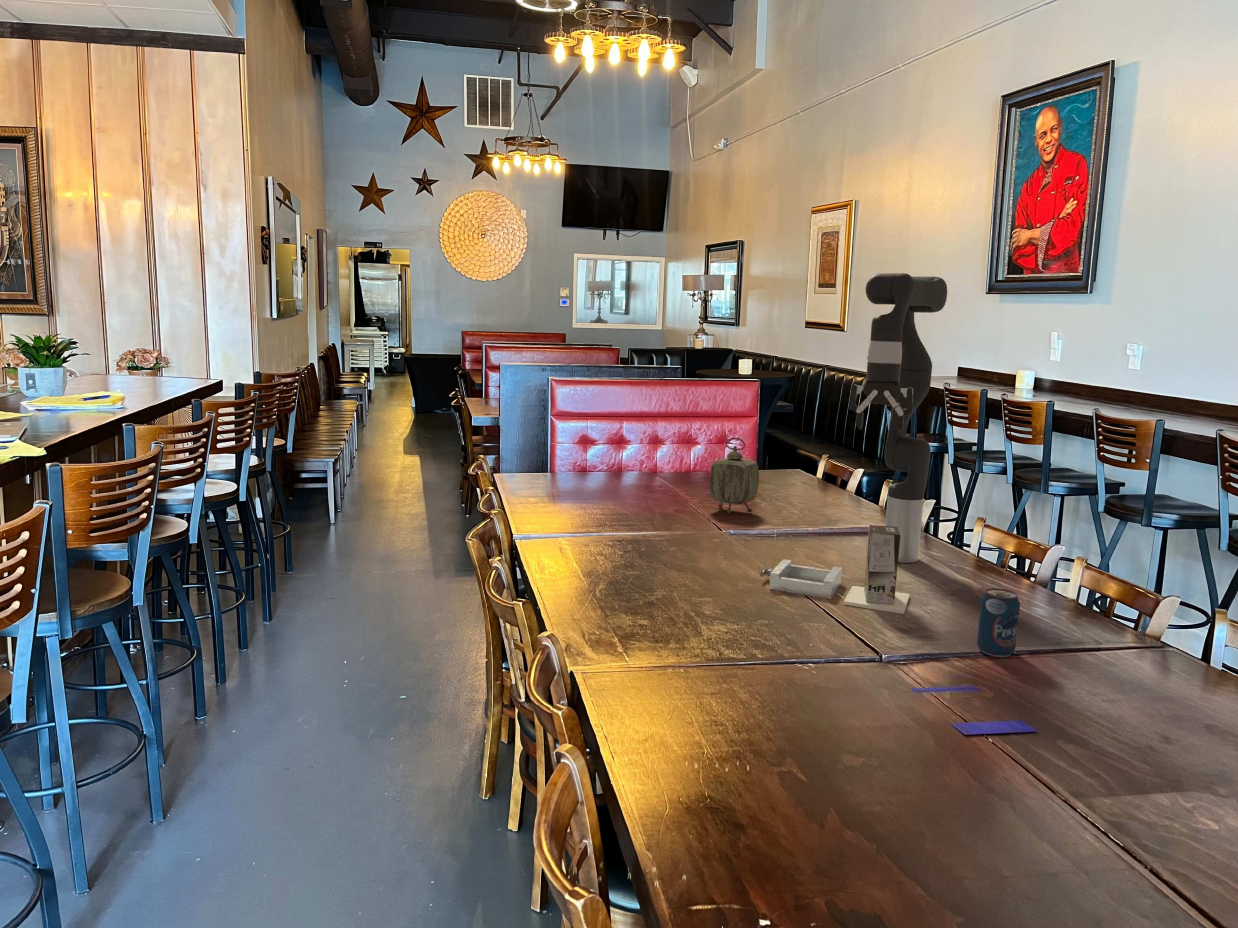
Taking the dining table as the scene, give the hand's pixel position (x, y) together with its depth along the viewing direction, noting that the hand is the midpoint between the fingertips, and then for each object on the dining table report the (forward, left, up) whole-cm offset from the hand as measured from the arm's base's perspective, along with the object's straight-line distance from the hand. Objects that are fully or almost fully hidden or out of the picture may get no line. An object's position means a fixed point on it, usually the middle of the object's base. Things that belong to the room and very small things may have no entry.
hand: (878, 430), depth 201 cm
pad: (+11, +4, -38) cm, 40 cm away
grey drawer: (+8, -15, -38) cm, 42 cm away
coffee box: (+11, +4, -37) cm, 39 cm away
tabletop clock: (-62, -52, -38) cm, 90 cm away
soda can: (+32, +29, -38) cm, 58 cm away
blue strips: (+59, +23, -39) cm, 75 cm away
